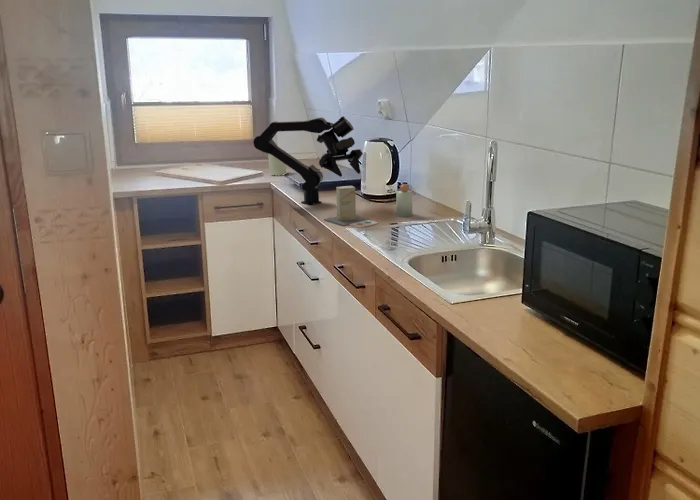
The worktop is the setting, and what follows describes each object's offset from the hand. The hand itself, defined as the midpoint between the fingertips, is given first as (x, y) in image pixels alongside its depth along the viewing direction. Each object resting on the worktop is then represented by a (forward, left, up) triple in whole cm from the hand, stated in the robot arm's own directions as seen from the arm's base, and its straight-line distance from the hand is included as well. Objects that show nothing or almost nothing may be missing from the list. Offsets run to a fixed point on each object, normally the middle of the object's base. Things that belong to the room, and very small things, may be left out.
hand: (350, 174), depth 248 cm
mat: (+15, -14, -14) cm, 24 cm away
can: (-90, +22, -14) cm, 94 cm away
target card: (+24, -13, -14) cm, 30 cm away
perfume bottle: (+24, +7, -14) cm, 28 cm away
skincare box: (+14, -14, -13) cm, 24 cm away
